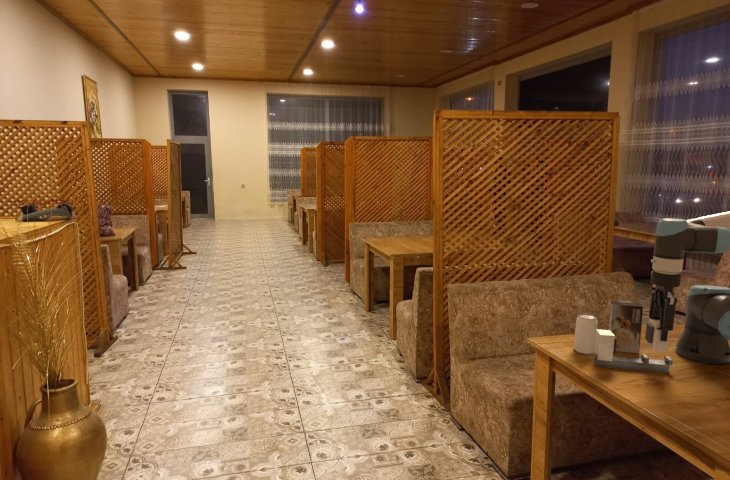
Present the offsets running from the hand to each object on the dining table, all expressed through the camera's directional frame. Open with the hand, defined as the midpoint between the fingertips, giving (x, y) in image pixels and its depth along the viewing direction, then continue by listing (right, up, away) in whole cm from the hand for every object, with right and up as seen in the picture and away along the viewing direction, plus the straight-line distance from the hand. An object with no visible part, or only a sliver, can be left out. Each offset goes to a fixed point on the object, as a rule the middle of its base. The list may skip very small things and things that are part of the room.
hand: (657, 347), depth 151 cm
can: (-15, -5, +16) cm, 22 cm away
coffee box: (-1, -5, +18) cm, 18 cm away
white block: (0, 0, 0) cm, 0 cm away
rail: (-7, -7, +3) cm, 10 cm away
